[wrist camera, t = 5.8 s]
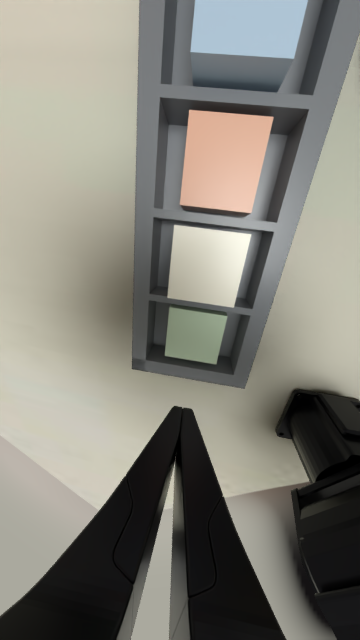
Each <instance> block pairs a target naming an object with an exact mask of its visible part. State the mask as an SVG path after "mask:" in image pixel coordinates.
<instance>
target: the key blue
mask: <svg viewBox="0 0 360 640" xmlns="http://www.w3.org/2000/svg"><path fill="white" fill-rule="evenodd" d="M307 2H308V0H195V8H194V18H193V29H192V40H191V50H190V54H191V66H192V78H193V86H196V87H209V88H222V89H235V90H248V91H261V92H275V93H277V92H278V90H279V88H280V86H281V84H282V82H283V80H284V78H285V76H286V74H287V72H288V70H289V68H290V66H291V64H292V62H293V60H294V56H295V52H296V48H297V44H298V40H299V36H300V31H301V27H302V23H303V19H304V15H305V11H306V7H307Z"/></svg>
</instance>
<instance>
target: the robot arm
mask: <svg viewBox="0 0 360 640" xmlns="http://www.w3.org/2000/svg"><path fill="white" fill-rule="evenodd" d="M299 394H300V395H299ZM276 434H277V436H278V437H282V438H288V439H292V441H293V443H294V446H295V448H296V450H297V453H298V455H299V457H300V460H301V462H302V464H303V467H304V469H305V471H306V474H307V476H308V478H309V481H310V483H311V484H309V485H307V486H305V487H302V488H300V489H297V488H296V489H294V490H292V491H291V495H292V502H293V509H294V516H295V523H296V530H297V537H298V544H299V550H300V555H301V561H302V565H303V567H304V569H305V571H306V574H307V576H308V579H309V581H310V583H311V585H312V588H313V590H314V591H315V593H316V594H315V598H316V601H317V603H318V605H319V607H320V608H321V610H322V612H323V614H324V615H325V617H326V619H327V621H328V622H329V624H330V626H331V628H332V630H333V632H334V634H335V636H336V638H337V640H360V401H359V400H357V399H351V398H346V397H340V396H334V395H328V394H323V393H316V392H311V391H305V390H295V391H293V393H292V395H291V397H290V400H289V402H288V404H287V406H286V408H285V411H284V413H283V415H282V417H281V419H280V422H279V424H278V426H277V428H276ZM175 457H176V459H175ZM174 463H175V473H174V503H173V533H172V563H171V564H172V565H171V594H170V595H171V596H170V624H169V640H286V638H285V636H284V634H283V632H282V630H281V628H280V626H279V624H278V622H277V619H276V617H275V615H274V613H273V611H272V609H271V607H270V604H269V602H268V600H267V598H266V596H265V594H264V591H263V589H262V587H261V585H260V582H259V580H258V578H257V576H256V574H255V572H254V569H253V567H252V565H251V563H250V561H249V559H248V556H247V554H246V552H245V549H244V547H243V545H242V542H241V540H240V538H239V536H238V533H237V531H236V528H235V526H234V523H233V521H232V518H231V515H230V513H229V510H228V507H227V505H226V502H225V499H224V497H222V496H223V494H222V491H221V488H220V485H219V483H218V480H217V477H216V474H215V471H214V469H213V466H212V463H211V460H210V457H209V455H208V452H207V449H206V446H205V443H204V441H203V438H202V435H201V432H200V429H199V427H198V424H197V421H196V418H195V415H194V413H193V410H192V409H189V408H182V407H178V406H173V408H172V409H171V410H170V412H169V413H168V415H167V416H166V418H165V419H164V421H163V422H162V423H161V425H160V426H159V428H158V429H157V431H156V432H155V433H154V435H153V436H152V438H151V439H150V441H149V442H148V444H147V445H146V446H145V448H144V449H143V451H142V452H141V454H140V455H139V457H138V458H137V459H136V461H135V462H134V464H133V465H132V467H131V468H130V469H129V471H128V472H127V474H126V476H125V477H124V478H123V479H122V481H121V482H120V484H119V485H118V487H117V488H116V489H115V491H114V492H113V493H112V495H111V496H110V497H109V499H108V500H107V502H106V503H105V504H104V505H103V507H102V508H101V509H100V510H99V511H98V513H97V514H96V515H95V516H94V518H93V519H92V520H91V521H90V522H89V524H88V525H87V526H86V527H85V528H84V530H83V531H82V532H81V533H80V534H79V535H78V537H77V538H76V539H75V540H74V541H73V542H72V544H71V545H70V546H69V547H68V548H67V549H66V551H65V552H64V553H63V554H62V555H61V557H60V558H59V559H58V560H57V561H56V562H55V564H54V565H53V566H52V567H51V568H50V569H49V570H48V572H47V573H46V574H45V575H44V576H43V577H42V578H41V579H40V580H39V581H38V582H37V583H36V585H34V586H33V587H32V588H31V589H30V591H28V593H26V594H25V595H24V596H23V597H22V598H21V599H20V600H19V601H17V602H16V603H15V604H14V605H13V606H12V607H10V608H9V609H8V610H7V611H6V612H4V613H3V614H2V615H1V616H0V640H131V635H132V632H133V628H134V624H135V619H136V616H137V612H138V608H139V604H140V600H141V596H142V592H143V588H144V584H145V580H146V576H147V572H148V568H149V564H150V560H151V556H152V552H153V548H154V544H155V540H156V536H157V532H158V528H159V524H160V520H161V515H162V512H163V508H164V504H165V500H166V496H167V492H168V488H169V484H170V480H171V476H172V472H173V468H174Z"/></svg>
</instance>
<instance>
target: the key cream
mask: <svg viewBox="0 0 360 640" xmlns="http://www.w3.org/2000/svg"><path fill="white" fill-rule="evenodd" d="M250 238H251V234H245V233H237V232H229V231H221V230H213V229H205V228H197V227H189V226H180V225H174V232H173V243H172V253H171V264H170V275H169V285H168V296H167V298H172V299H178V300H185V301H192V302H199V303H205V304H212V305H219V306H225V307H232V308H234V305H235V301H236V296H237V292H238V288H239V284H240V280H241V276H242V272H243V267H244V263H245V259H246V255H247V251H248V247H249V243H250Z"/></svg>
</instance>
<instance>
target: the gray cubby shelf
mask: <svg viewBox="0 0 360 640" xmlns="http://www.w3.org/2000/svg"><path fill="white" fill-rule="evenodd" d="M194 8H195V0H140V3H139V51H138V99H137V147H136V195H135V244H134V292H133V340H132V369H135V370H141V371H146V372H152V373H158V374H163V375H169V376H175V377H180V378H186V379H192V380H197V381H203V382H209V383H215V384H220V385H226V386H232V387H237V388H243V389H245V386H246V383H247V380H248V377H249V374H250V371H251V367H252V364H253V361H254V358H255V355H256V352H257V349H258V346H259V343H260V340H261V336H262V333H263V330H264V327H265V324H266V321H267V318H268V315H269V312H270V309H271V305H272V302H273V299H274V296H275V293H276V290H277V287H278V284H279V281H280V278H281V275H282V271H283V268H284V265H285V262H286V259H287V256H288V253H289V250H290V247H291V244H292V240H293V237H294V234H295V231H296V228H297V225H298V222H299V219H300V216H301V213H302V209H303V206H304V203H305V200H306V197H307V194H308V191H309V188H310V185H311V182H312V178H313V175H314V172H315V169H316V166H317V163H318V160H319V157H320V154H321V151H322V147H323V144H324V141H325V138H326V135H327V132H328V129H329V126H330V123H331V120H332V116H333V113H334V110H335V107H336V104H337V101H338V98H339V95H340V92H341V89H342V85H343V82H344V79H345V76H346V73H347V70H348V67H349V64H350V61H351V58H352V54H353V51H354V48H355V45H356V42H357V39H358V36H359V33H360V0H308V2H307V7H306V11H305V15H304V19H303V23H302V27H301V31H300V36H299V40H298V44H297V48H296V52H295V56H294V60H293V62H292V64H291V66H290V68H289V70H288V72H287V74H286V76H285V78H284V80H283V82H282V84H281V86H280V88H279V90H278V92H277V93H275V92H261V91H248V90H235V89H222V88H209V87H196V86H193V78H192V66H191V54H190V50H191V40H192V29H193V18H194ZM189 110H197V111H209V112H221V113H233V114H245V115H257V116H269V117H274V118H273V122H272V126H271V131H270V135H269V139H268V144H267V148H266V152H265V157H264V161H263V165H262V170H261V174H260V178H259V182H258V187H257V191H256V195H255V200H254V204H253V208H252V213H251V214H249V215H247V216H245V217H239V216H231V215H222V214H214V213H205V212H197V211H189V210H183V208H182V207H181V206H180V198H181V188H182V178H183V168H184V158H185V148H186V138H187V128H188V118H189ZM174 225H180V226H189V227H197V228H205V229H213V230H221V231H229V232H237V233H245V234H251V238H250V243H249V247H248V251H247V255H246V259H245V263H244V267H243V272H242V276H241V280H240V284H239V288H238V292H237V296H236V301H235V305H234V308H232V307H225V306H219V305H212V304H205V303H199V302H192V301H185V300H178V299H172V298H167V296H168V285H169V275H170V264H171V253H172V243H173V232H174ZM171 304H177V305H183V306H190V307H197V308H203V309H210V310H217V311H223V312H226V313H227V320H226V325H225V329H224V333H223V338H222V342H221V346H220V351H219V355H218V359H217V363H216V364H210V363H205V362H199V361H193V360H187V359H181V358H175V357H169V356H165V347H166V337H167V327H168V317H169V307H170V305H171Z"/></svg>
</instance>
